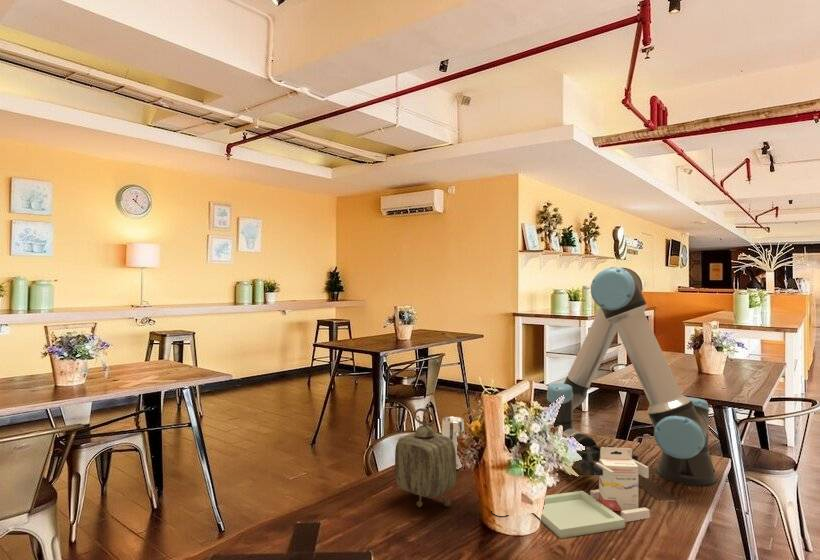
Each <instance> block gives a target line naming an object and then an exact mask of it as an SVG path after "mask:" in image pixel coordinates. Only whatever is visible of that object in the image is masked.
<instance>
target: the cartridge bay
mask: <svg viewBox="0 0 820 560" xmlns="http://www.w3.org/2000/svg"><path fill="white" fill-rule="evenodd" d="M589 492H590V493H589V494H590V496H591V497H593V498H594V499H596V500H597V501H599V488H597V489H591V490H590V491H589ZM650 512H651V511H650V509H649V508H647V507H638V509H631V510H624V511H620V517H622V518H623V519H624V520H625V523H627V522H633V521H639V520H640V519H641V520H648V519H651V517H650V516H651V515H650V514H651V513H650ZM641 520H640V521H641Z"/></svg>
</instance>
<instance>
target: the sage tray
mask: <svg viewBox="0 0 820 560" xmlns="http://www.w3.org/2000/svg"><path fill="white" fill-rule="evenodd" d="M545 496H546V497H545V505H544V509H543V511H542V516H541V522H542V523H543V524H544V525H545V526H546V527H547V528H548V529H550V531H551V532H552V533H554V535H556V536H557V537H558V538H559V539H565V538H566V539H567V538H573V537H578V536H583V535H584V536H585V535H590V534H597V533H598V534H599V533H603V532H609V531H615V530H621V529H626V527H625V525H626V522H625V520H624V519H623V518H622V517H621V515H619V514H617V513H616V512H615V511H611V510H610V509H609V508H607V507H606V506H604V505H603V504H601V503H600V502H599V500H596V499H594V498H593V497H591V496H590V495H589V494H588V493H586V492H585V491H584V490H576V491H571V492H570V491H569V492H562V493H555V494H549V495H545Z"/></svg>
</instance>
